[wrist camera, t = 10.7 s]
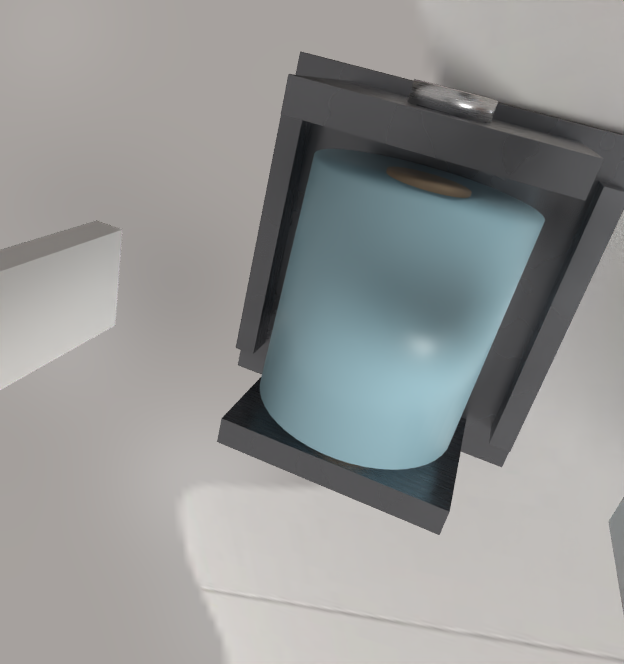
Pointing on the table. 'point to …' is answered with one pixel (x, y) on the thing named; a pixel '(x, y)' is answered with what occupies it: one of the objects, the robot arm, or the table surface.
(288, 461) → the holder
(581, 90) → the table surface
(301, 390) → the roll
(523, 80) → the table surface
